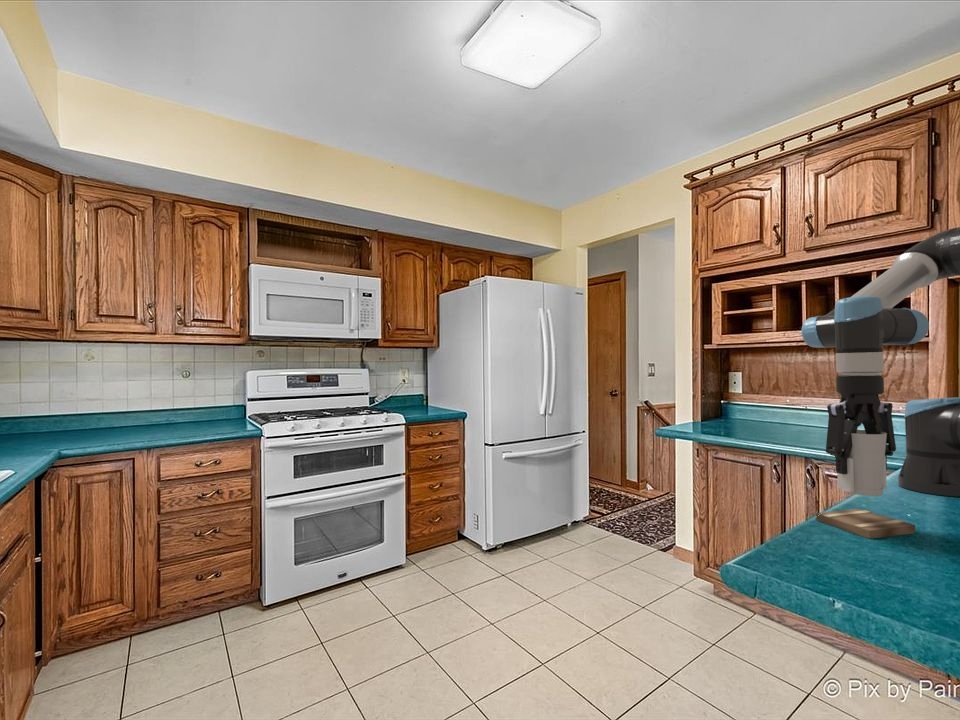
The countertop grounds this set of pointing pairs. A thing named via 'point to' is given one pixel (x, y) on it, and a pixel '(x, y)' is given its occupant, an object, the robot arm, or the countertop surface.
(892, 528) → the striped wooden coaster
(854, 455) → the cup
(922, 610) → the countertop surface
